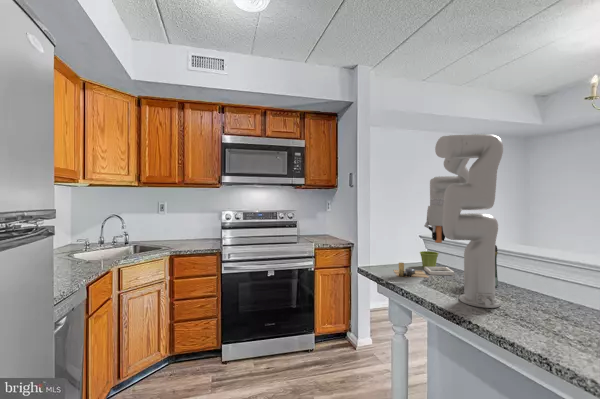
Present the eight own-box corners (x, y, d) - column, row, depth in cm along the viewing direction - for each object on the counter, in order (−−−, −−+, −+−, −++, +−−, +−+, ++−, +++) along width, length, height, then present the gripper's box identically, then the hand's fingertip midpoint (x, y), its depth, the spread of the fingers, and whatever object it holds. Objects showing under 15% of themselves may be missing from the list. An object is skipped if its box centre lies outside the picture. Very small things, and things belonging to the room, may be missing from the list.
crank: (408, 271, 150) (408, 259, 150) (416, 272, 146) (416, 260, 146) (395, 275, 142) (395, 262, 142) (404, 276, 139) (404, 264, 139)
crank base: (429, 279, 139) (429, 273, 139) (397, 278, 141) (397, 272, 141) (421, 272, 153) (421, 266, 153) (393, 271, 155) (392, 265, 155)
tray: (454, 277, 143) (454, 272, 143) (430, 276, 144) (430, 271, 144) (446, 271, 154) (446, 267, 154) (424, 271, 155) (424, 266, 155)
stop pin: (442, 242, 147) (442, 226, 148) (436, 242, 148) (436, 226, 148) (440, 242, 150) (440, 225, 150) (434, 241, 151) (434, 225, 151)
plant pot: (442, 269, 159) (442, 253, 159) (431, 271, 154) (431, 254, 154) (427, 266, 167) (427, 250, 167) (415, 268, 162) (415, 252, 162)
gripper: (453, 202, 152) (453, 239, 152) (419, 203, 154) (419, 239, 154) (458, 203, 144) (459, 241, 144) (422, 203, 147) (423, 241, 147)
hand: (438, 239), depth 149 cm, fingers closed on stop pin, 3 cm apart
